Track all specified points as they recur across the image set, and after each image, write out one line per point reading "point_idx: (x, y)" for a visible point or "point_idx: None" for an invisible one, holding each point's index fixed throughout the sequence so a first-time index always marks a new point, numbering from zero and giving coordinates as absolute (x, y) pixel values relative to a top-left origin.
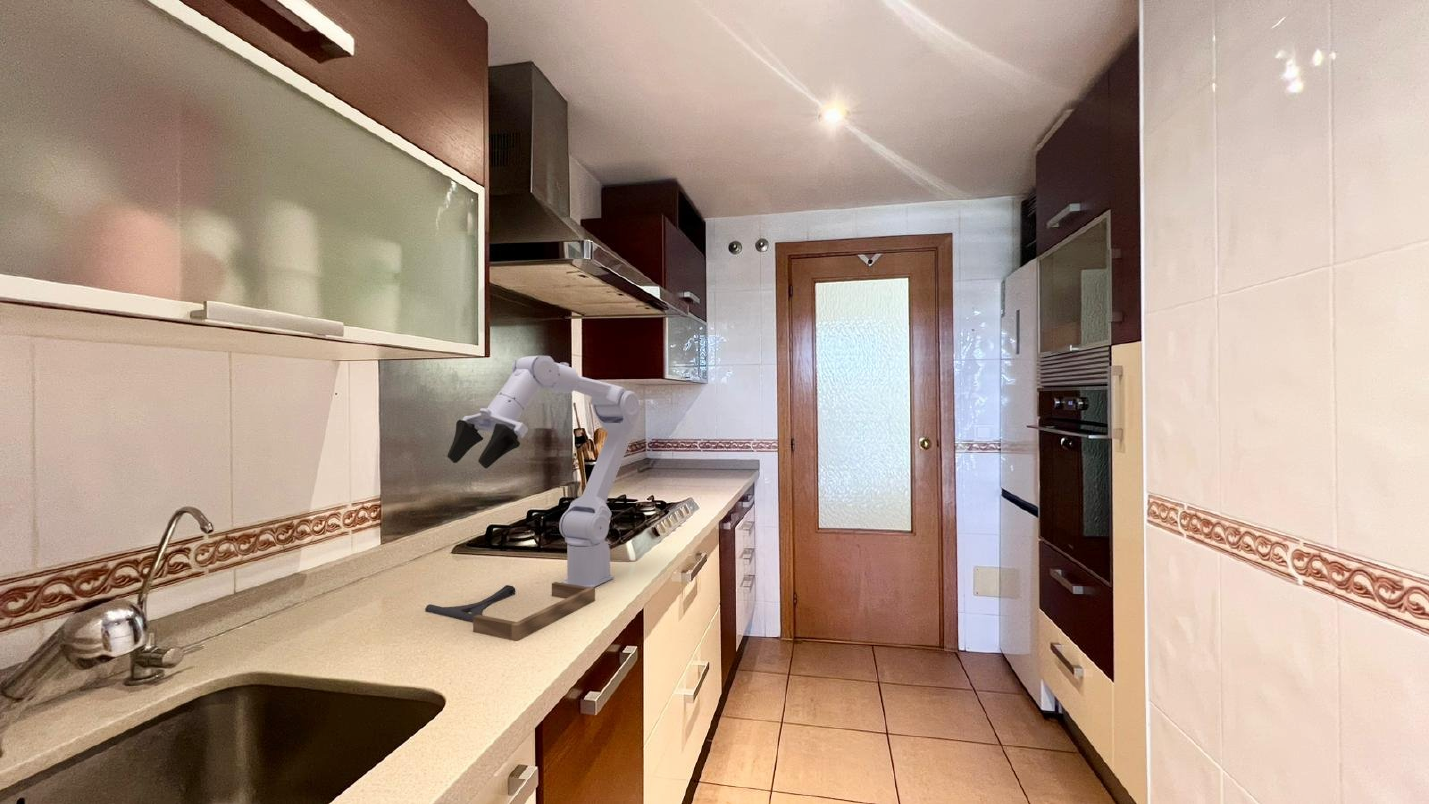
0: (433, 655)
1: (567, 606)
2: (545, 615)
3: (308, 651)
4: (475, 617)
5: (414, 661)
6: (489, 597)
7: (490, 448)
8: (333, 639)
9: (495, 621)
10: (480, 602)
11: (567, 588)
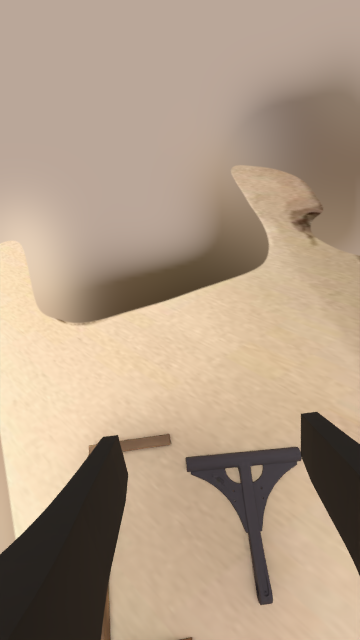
0: (149, 366)
1: None
2: None
3: (270, 306)
4: (164, 435)
5: (153, 347)
6: (258, 538)
7: (60, 493)
8: (285, 333)
9: (127, 440)
10: (253, 514)
11: None
